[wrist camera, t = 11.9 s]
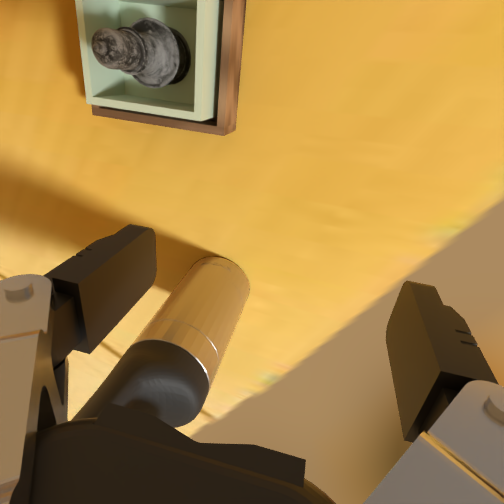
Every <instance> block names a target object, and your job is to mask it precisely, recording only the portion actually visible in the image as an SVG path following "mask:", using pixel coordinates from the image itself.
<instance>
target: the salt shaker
mask: <svg viewBox="0 0 504 504" xmlns="http://www.w3.org/2000/svg"><path fill="white" fill-rule="evenodd" d="M91 45H92V51H93V54H94V56H95V58H96V59H97V61H98V62H99V63H100V64H101V65H102V66H104V67H106V68H108V69H116V70H121V71H122V72H124V73H126V74H129V75H132V76H133V77H134V79H136V80H137V81H138V82H139V83H140V84H142V85H144V86H146V87H149V88H162V87H164V86H166V85H171V84H176V83H178V82H180V81H182V80H183V79H184V78H185V77H186V75H187V73H188V71H189V68H190V65H191V54H190V49H189V46H188V43H187V41H186V40H185V38H184V37H183V35H182V34H181V33H179V32H178V31H177V30H175V29H173V28H171V27H167V26H166V25H165V24H164V23H163V22H161V21H159V20H157V19H155V18H148V17H146V18H140V19H138V20H136V21H135V22H133V23H132V24H131V26H130V27H120V28H118V29H111V28H100V29H98V30H97V31H96V32H95V33H94V34H93V37H92V42H91Z"/></svg>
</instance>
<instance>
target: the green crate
mask: <svg viewBox="0 0 504 504" xmlns="http://www.w3.org/2000/svg"><path fill="white" fill-rule="evenodd" d="M75 5H76V14H77V22H78V31H79V40H80V49H81V58H82V66H83V75H84V84H85V93H86V102H87V104H93V105H99V106H106V107H112V108H118V109H125V110H131V111H138V112H144V113H151V114H157V115H164V116H170V117H176V118H183V119H189V120H196V121H204V120H207V119H210V118H213V117H217V116H218V99H219V82H220V65H221V48H222V31H223V14H224V1H222V0H75ZM146 17H148V18H155V19H157V20H159V21H161V22H163V23H164V24H165V25H166V26H167V27H171V28H173V29H175V30H177V31H178V32H179V33H181V34H182V35H183V37H184V38H185V40H186V41H187V43H188V46H189V49H190V54H191V65H190V68H189V71H188V73H187V75H186V77H185V78H184V79H183V80H182V81H180V82H178V83H176V84H171V85H166V86H164V87H162V88H149V87H146V86H144V85H142V84H140V83H139V82H138V81H137V80H136V79H134V77H133V76H132V75H129V74H126V73H124V72H122V71H121V70H116V69H108V68H106V67H104V66H102V65H101V64H100V63H99V62H98V61H97V59H96V58H95V56H94V54H93V51H92V45H91V42H92V37H93V34H94V33H95V32H96V31H97V30H98V29H100V28H111V29H118V28H120V27H130V26H131V24H132V23H133V22H135V21H136V20H138V19H140V18H146Z"/></svg>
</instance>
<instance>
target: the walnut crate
mask: <svg viewBox="0 0 504 504" xmlns="http://www.w3.org/2000/svg"><path fill="white" fill-rule="evenodd" d="M222 1H224V14H223V31H222V48H221V65H220V82H219V99H218V116H217V117H213V118H210V119H207V120H204V121H196V120H189V119H183V118H176V117H170V116H164V115H157V114H151V113H144V112H138V111H131V110H125V109H118V108H112V107H106V106H99V105H93V104H92V113H93V115H96V116H103V117H109V118H115V119H121V120H128V121H134V122H140V123H146V124H153V125H159V126H165V127H171V128H178V129H184V130H190V131H196V132H203V133H209V134H215V135H221V136H225V135H227V134H229V133H231V132H233V131H235V129H236V117H237V105H238V93H239V81H240V70H241V58H242V46H243V34H244V22H245V10H246V0H222Z"/></svg>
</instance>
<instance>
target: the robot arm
mask: <svg viewBox="0 0 504 504" xmlns="http://www.w3.org/2000/svg"><path fill="white" fill-rule="evenodd" d="M156 270H157V268H156V239H155V232H154V230H153V229H152V228H147V227H142V226H137V225H132V224H129V225H127V226H126V227H124V228H123V229H121V230H120V231H118V232H117V233H116V234H114V235H111V236H108V237H105V238H102V239H99V240H97V241H95V242H94V243H92V244H91V245H89V246H88V247H86V248H85V250H84V249H83V250H82V251H80V252H79V253H77V254H76V256H72V257H71V258H69V259H68V260H66V261H65V262H63V263H62V264H60V265H59V266H57V267H56V268H54V269H53V270H51V271H50V272H48V273H47V274H45V275H44V276H41V275H34V274H26V275H18V276H13V277H10V278H6V279H4V280H1V281H0V504H336V503H335V502H334V501H333V500H332V499H331V498H330V497H329V496H327V495H326V493H324V492H323V491H321V490H320V489H319V488H318V487H317V486H315V485H314V484H313V483H311V482H309V481H308V480H306V479H305V478H304V474H305V462H306V460H305V459H301V458H298V457H295V456H291V455H288V454H284V453H281V452H277V451H274V450H270V449H267V448H264V447H260V446H257V445H249V444H213V443H212V444H211V443H198V442H196V441H193V440H192V439H190V438H189V437H187V436H186V435H184V434H182V433H181V432H179V431H178V430H176V429H175V428H176V427H180V426H183V425H186V424H188V423H190V422H191V421H192V420H194V419H195V417H196V416H197V415H198V414H199V412H200V410H201V409H202V407H203V404H204V402H205V399H206V397H207V395H208V392H209V390H210V387H211V385H212V383H213V380H214V378H215V375H216V373H217V370H218V368H219V365H220V363H221V360H222V358H223V356H224V353H225V351H226V348H227V346H228V344H229V341H230V339H231V336H232V334H233V332H234V329H235V327H236V324H237V322H238V320H239V317H240V315H241V313H242V310H243V308H244V305H245V303H246V300H247V298H248V295H249V290H250V289H249V282H248V279H247V277H246V275H245V274H244V272H243V271H242V270H241V269H240V268H239V267H238V266H237V265H236V264H234V263H233V262H231V261H229V260H227V259H224V258H221V257H207V258H203V259H201V260H199V261H198V262H196V263H195V264H194V265H193V266H192V268H191V269H190V270H189V272H188V273H187V274H186V275H185V277H184V278H183V279H182V280H181V282H180V283H179V284H178V286H177V287H176V288H175V289H174V291H173V292H172V293H171V295H170V296H169V297H168V298H167V300H166V301H165V302H164V304H163V305H162V306H161V307H160V309H159V310H158V311H157V313H156V314H155V315H154V316H153V318H152V319H151V320H150V322H149V323H148V324H147V326H146V327H145V328H144V329H143V331H142V332H141V333H140V335H139V336H138V337H137V339H136V340H135V341H134V342H133V344H132V345H131V346H130V348H129V349H128V350H127V351H126V352H125V354H124V355H123V356H122V358H121V359H120V361H119V362H118V363H117V365H116V366H115V367H114V369H113V370H112V371H111V373H110V374H109V375H108V377H107V378H106V379H105V381H104V382H103V383H102V384H101V386H100V387H99V388H98V390H97V391H96V392H95V393H94V394H93V396H92V397H91V398H90V399H89V400H88V401H87V403H86V404H85V405H84V406H83V407H82V409H81V410H80V411H79V412H78V413H77V414H76V415H75V417H74V418H73V419H72V420H71V421H68V420H67V409H68V367H69V363H68V358H67V355H68V354H69V353H70V352H71V351H72V350H77V351H81V352H84V353H88V354H91V352H92V351H93V350H94V349H95V348H96V347H97V346H98V345H99V344H100V342H101V341H102V340H103V339H104V338H105V337H106V336H107V335H108V334H109V333H110V331H111V330H112V329H113V328H114V327H115V326H116V325H117V324H118V323H119V322H120V320H121V319H122V318H123V317H124V316H125V315H126V314H127V313H128V312H129V310H130V309H131V308H132V307H133V306H134V305H135V304H136V303H137V302H138V301H139V299H140V298H141V297H142V296H143V295H144V294H145V293H146V292H147V291H148V290H149V288H150V287H151V286H152V284H153V282H154V280H155V277H156ZM386 344H387V349H388V355H389V360H390V366H391V371H392V377H393V382H394V387H395V393H396V398H397V404H398V409H399V415H400V420H401V425H402V431H403V437H404V440H405V441H409V442H413V444H412V445H411V446H410V447H409V448H408V450H407V451H406V452H405V453H404V455H403V456H402V457H401V459H399V461H398V462H397V463H396V464H395V465H394V467H393V468H392V469H391V470H390V471H389V473H388V474H387V475H386V476H385V478H384V479H383V480H382V481H381V483H380V484H379V485H378V486H377V487H376V488H375V490H374V491H373V492H372V493H371V495H370V496H369V497H368V498H367V500H366V501H365V502H364V503H363V504H504V387H502V386H500V385H499V384H498V382H497V380H496V379H495V377H494V375H493V373H492V371H491V369H490V367H489V365H488V363H487V361H486V360H485V358H484V356H483V354H482V352H481V350H480V348H479V347H477V343H476V341H475V339H474V337H473V336H472V335H471V331H470V329H469V327H468V325H467V324H466V322H465V320H464V319H463V318H462V317H461V316H460V315H459V314H458V313H457V312H456V311H455V310H454V309H453V308H452V307H450V306H445V305H443V303H442V301H441V299H440V296H439V294H438V292H437V290H436V288H435V287H434V286H431V285H426V284H421V283H416V282H411V281H406V282H405V283H404V284H403V286H402V288H401V291H400V293H399V296H398V298H397V301H396V304H395V306H394V309H393V311H392V314H391V316H390V319H389V322H388V325H387V331H386Z"/></svg>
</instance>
